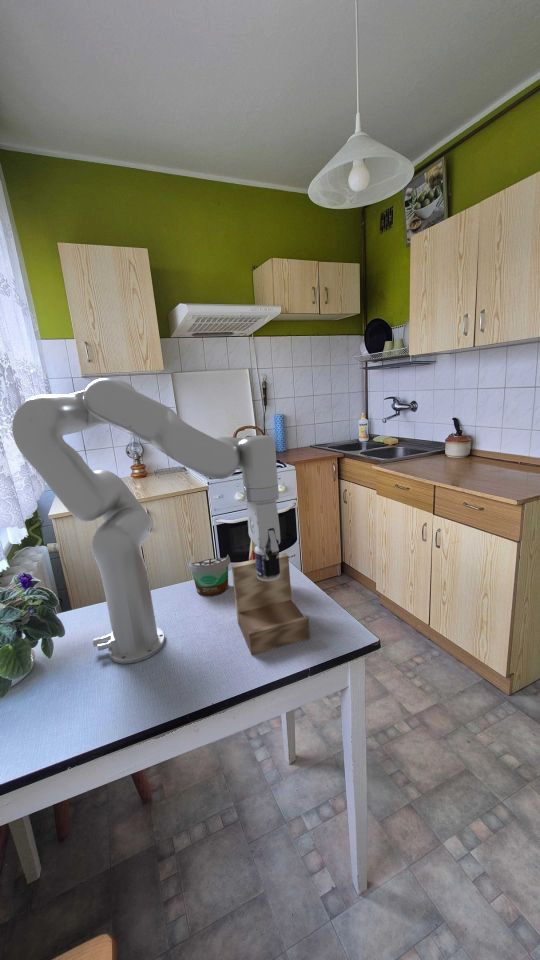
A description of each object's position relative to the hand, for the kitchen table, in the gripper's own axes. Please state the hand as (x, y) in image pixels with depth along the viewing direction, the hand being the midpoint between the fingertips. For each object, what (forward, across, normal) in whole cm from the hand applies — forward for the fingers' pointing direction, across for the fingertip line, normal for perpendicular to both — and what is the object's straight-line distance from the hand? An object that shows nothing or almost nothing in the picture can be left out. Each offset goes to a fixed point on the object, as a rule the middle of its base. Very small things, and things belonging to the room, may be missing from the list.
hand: (268, 568), depth 88 cm
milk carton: (+17, -20, +4) cm, 26 cm away
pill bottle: (+2, 0, 0) cm, 2 cm away
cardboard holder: (+17, -1, 0) cm, 17 cm away
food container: (+17, -26, -10) cm, 32 cm away
